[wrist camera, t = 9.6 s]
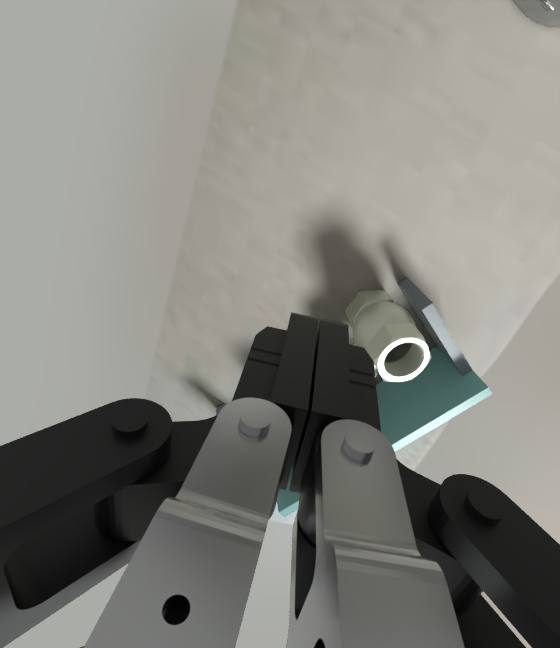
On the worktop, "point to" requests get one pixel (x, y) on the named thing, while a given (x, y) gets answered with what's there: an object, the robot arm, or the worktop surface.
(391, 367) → the valve
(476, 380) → the walled bay
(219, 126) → the worktop surface
